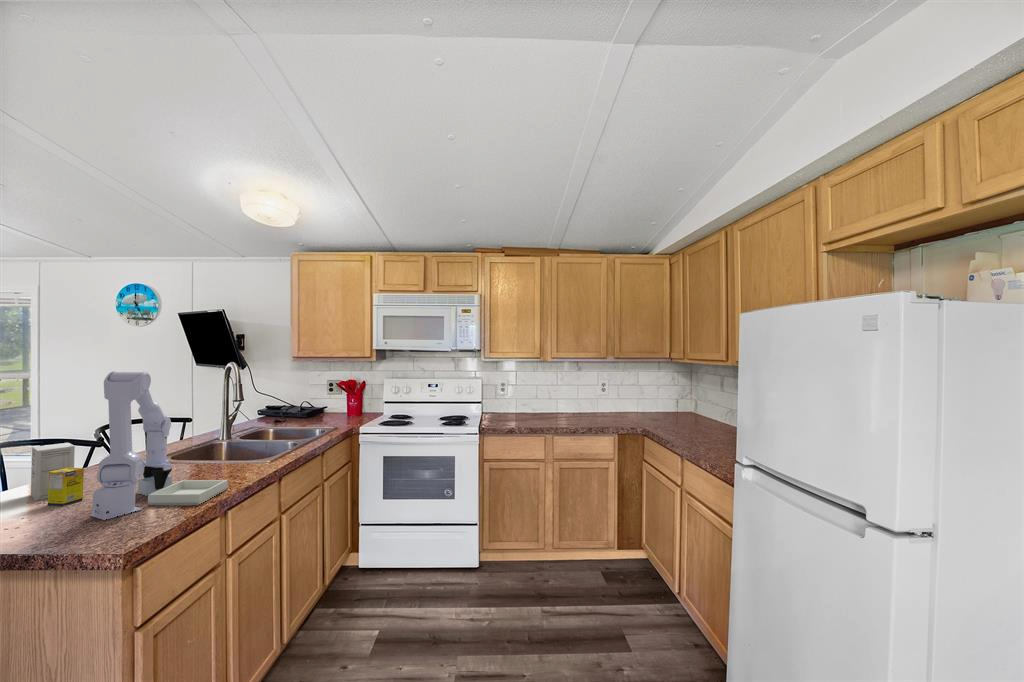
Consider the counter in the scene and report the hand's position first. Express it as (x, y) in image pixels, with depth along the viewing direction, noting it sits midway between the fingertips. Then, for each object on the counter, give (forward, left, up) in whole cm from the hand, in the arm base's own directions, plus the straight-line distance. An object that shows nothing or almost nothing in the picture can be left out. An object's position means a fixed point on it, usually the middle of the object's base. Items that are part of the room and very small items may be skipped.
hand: (155, 487), depth 154 cm
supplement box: (-19, +13, -2) cm, 23 cm away
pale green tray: (+2, -17, -1) cm, 17 cm away
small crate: (0, 0, -1) cm, 1 cm away
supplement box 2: (-17, +28, -2) cm, 33 cm away
